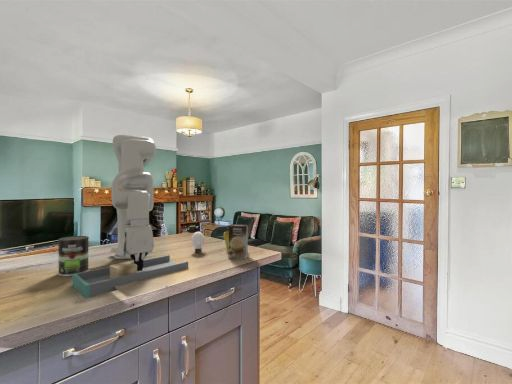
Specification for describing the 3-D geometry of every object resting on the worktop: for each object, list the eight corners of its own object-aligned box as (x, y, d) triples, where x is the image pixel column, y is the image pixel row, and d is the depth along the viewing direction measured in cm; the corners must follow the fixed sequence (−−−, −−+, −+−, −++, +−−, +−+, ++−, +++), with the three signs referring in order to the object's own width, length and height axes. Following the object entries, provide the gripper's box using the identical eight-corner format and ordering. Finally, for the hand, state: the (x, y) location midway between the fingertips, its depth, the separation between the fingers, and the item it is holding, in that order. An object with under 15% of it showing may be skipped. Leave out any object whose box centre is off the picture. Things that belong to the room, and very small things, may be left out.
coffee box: (227, 258, 131) (227, 225, 131) (230, 255, 137) (230, 224, 137) (246, 259, 130) (246, 226, 130) (248, 255, 136) (248, 224, 136)
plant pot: (234, 253, 141) (235, 235, 141) (219, 251, 146) (219, 233, 146) (246, 249, 150) (246, 232, 149) (231, 247, 155) (231, 230, 155)
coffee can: (87, 274, 107) (87, 239, 107) (55, 278, 102) (55, 241, 102) (90, 267, 116) (89, 234, 116) (61, 270, 111) (60, 236, 111)
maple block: (128, 272, 104) (128, 261, 104) (137, 276, 99) (137, 264, 99) (109, 277, 99) (109, 265, 98) (117, 281, 94) (117, 269, 94)
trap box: (168, 263, 122) (168, 254, 122) (188, 271, 111) (188, 261, 111) (72, 285, 95) (72, 274, 94) (86, 298, 84) (86, 285, 84)
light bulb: (203, 253, 140) (203, 232, 140) (190, 253, 140) (190, 232, 140) (205, 250, 147) (205, 230, 147) (192, 250, 147) (192, 230, 146)
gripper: (122, 225, 95) (122, 277, 95) (161, 222, 106) (161, 268, 107) (114, 224, 100) (114, 272, 100) (152, 220, 111) (152, 264, 112)
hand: (138, 270), depth 103 cm, fingers closed
